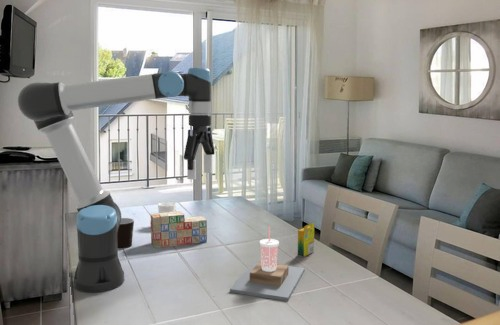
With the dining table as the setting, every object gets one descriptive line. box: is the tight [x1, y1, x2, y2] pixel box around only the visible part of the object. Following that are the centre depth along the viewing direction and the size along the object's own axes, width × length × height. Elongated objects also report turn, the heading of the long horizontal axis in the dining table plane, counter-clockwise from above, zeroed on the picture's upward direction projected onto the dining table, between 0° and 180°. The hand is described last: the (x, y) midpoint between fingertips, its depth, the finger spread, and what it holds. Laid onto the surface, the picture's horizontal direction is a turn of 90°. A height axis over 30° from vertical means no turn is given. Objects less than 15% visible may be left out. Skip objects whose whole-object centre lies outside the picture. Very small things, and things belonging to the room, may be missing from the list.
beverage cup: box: [259, 225, 280, 272], centre depth 145 cm, size 6×6×14 cm
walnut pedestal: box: [250, 261, 289, 286], centre depth 146 cm, size 10×10×4 cm
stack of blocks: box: [150, 210, 208, 248], centre depth 182 cm, size 21×6×12 cm, turn 110°
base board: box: [229, 261, 305, 302], centre depth 146 cm, size 24×18×1 cm
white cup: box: [157, 201, 177, 213], centre depth 205 cm, size 8×8×10 cm
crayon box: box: [297, 222, 315, 258], centre depth 171 cm, size 7×3×12 cm, turn 141°
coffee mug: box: [117, 217, 135, 250], centre depth 179 cm, size 12×9×10 cm
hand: (200, 175), depth 159 cm, fingers open, 13 cm apart
